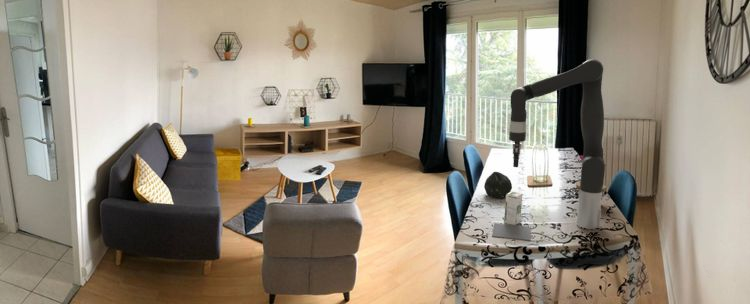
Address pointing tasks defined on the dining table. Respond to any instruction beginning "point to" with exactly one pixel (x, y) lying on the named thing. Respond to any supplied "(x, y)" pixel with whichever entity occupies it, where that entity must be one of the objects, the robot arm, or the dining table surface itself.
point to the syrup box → (513, 208)
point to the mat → (511, 231)
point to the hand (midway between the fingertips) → (515, 165)
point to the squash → (497, 185)
